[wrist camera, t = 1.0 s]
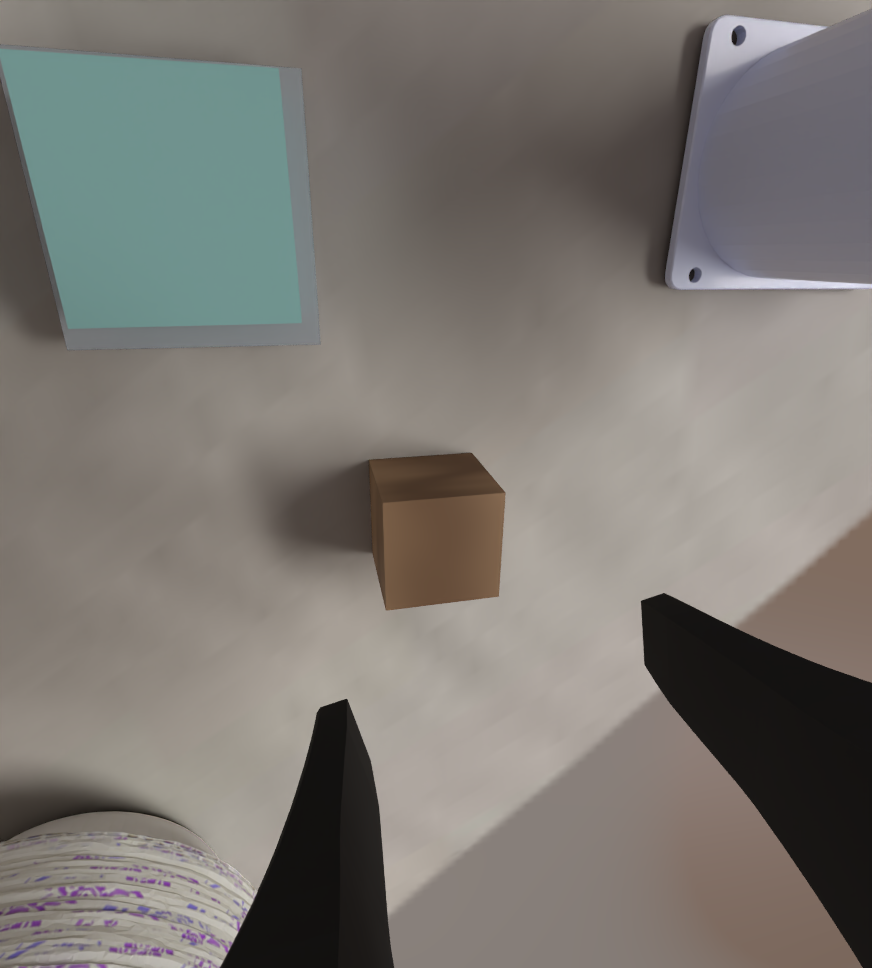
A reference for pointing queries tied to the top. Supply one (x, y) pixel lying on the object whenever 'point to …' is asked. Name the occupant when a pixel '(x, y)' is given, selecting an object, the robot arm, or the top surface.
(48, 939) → the paper bowls
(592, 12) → the top surface
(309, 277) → the tower base
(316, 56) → the top surface
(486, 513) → the walnut block
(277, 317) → the tower mid
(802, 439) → the top surface
